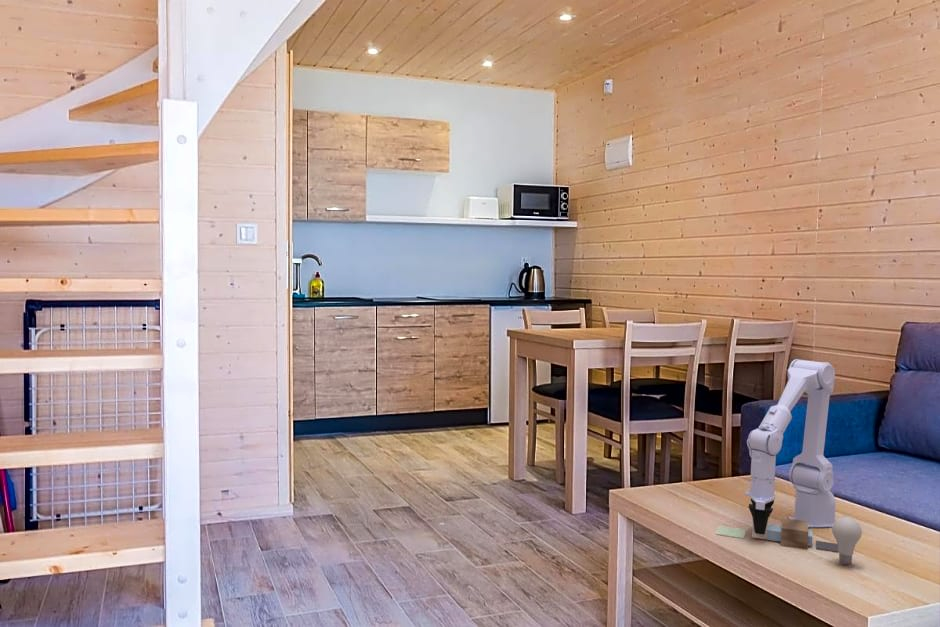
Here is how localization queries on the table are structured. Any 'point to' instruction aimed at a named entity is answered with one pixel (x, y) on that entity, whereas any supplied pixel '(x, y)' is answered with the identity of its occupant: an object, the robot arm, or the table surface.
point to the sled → (776, 533)
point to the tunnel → (794, 533)
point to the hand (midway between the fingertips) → (760, 530)
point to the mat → (730, 532)
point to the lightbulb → (846, 537)
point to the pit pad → (827, 546)
